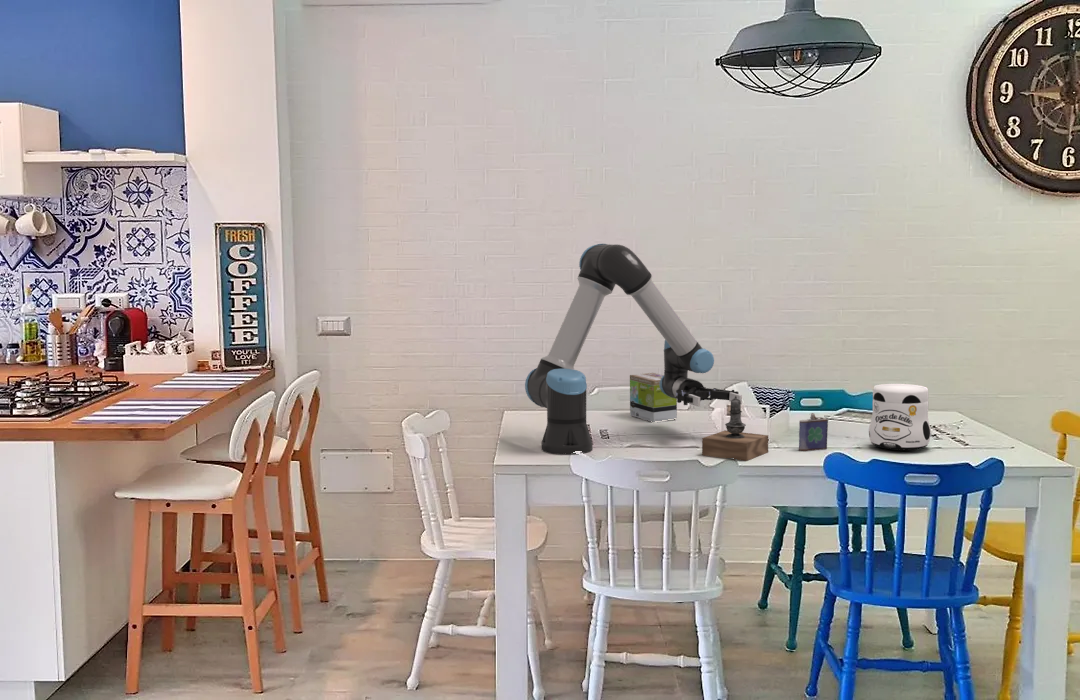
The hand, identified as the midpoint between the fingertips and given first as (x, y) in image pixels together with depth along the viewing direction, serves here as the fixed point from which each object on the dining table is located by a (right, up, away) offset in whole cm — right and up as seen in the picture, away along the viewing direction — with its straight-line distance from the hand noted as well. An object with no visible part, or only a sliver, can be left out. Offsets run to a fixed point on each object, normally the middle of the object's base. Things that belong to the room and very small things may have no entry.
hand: (720, 401), depth 327 cm
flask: (+27, -14, -2) cm, 31 cm away
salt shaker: (+3, -10, -7) cm, 13 cm away
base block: (+3, -15, -7) cm, 17 cm away
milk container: (+52, -14, -1) cm, 54 cm away
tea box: (-15, -9, +52) cm, 54 cm away
